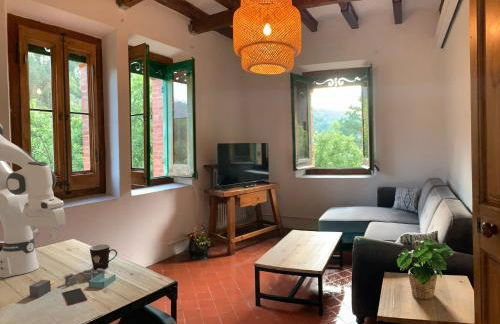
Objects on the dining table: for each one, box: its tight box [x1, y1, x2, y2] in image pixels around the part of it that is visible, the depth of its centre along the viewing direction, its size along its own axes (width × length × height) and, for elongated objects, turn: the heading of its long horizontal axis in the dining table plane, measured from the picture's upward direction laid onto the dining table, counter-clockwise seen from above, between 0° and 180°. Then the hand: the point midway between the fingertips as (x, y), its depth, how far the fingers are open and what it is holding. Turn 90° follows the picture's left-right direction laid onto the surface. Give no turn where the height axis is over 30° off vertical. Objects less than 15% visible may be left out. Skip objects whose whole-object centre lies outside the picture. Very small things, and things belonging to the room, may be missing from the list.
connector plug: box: [28, 279, 56, 299], centre depth 138 cm, size 4×10×4 cm, turn 168°
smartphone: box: [61, 287, 88, 307], centre depth 134 cm, size 7×1×14 cm
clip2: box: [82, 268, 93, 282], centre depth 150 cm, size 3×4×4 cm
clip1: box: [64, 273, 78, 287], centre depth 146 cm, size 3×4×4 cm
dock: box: [88, 273, 117, 289], centre depth 145 cm, size 7×8×2 cm
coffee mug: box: [89, 243, 118, 272], centre depth 162 cm, size 12×9×10 cm
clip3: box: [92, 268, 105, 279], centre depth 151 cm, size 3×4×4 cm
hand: (44, 237), depth 139 cm, fingers open, 8 cm apart
